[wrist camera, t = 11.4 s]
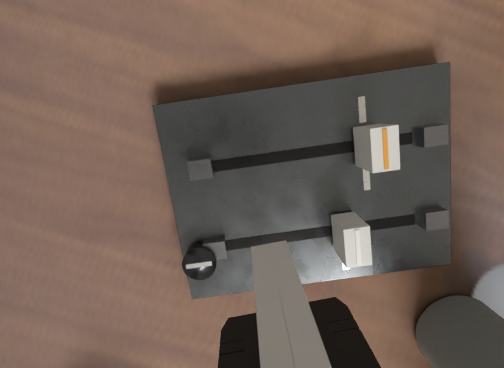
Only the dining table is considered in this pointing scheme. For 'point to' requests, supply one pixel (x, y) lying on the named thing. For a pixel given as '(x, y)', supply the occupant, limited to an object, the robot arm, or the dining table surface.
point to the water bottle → (461, 334)
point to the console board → (308, 176)
